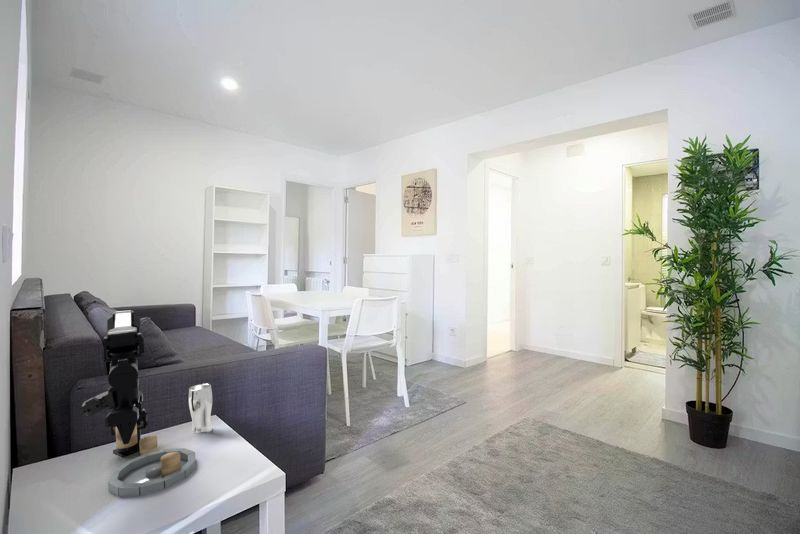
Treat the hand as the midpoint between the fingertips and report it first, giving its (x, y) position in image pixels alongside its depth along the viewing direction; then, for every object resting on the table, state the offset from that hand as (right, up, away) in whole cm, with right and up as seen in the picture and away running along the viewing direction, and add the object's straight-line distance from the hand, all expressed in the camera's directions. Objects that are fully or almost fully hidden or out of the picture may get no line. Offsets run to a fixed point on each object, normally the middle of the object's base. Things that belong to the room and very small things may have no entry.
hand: (127, 440), depth 98 cm
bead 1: (0, -1, 0) cm, 1 cm away
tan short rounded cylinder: (+10, -10, +2) cm, 14 cm away
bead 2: (-4, -11, +15) cm, 19 cm away
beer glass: (+4, -11, +30) cm, 32 cm away
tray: (+5, -11, +3) cm, 13 cm away
